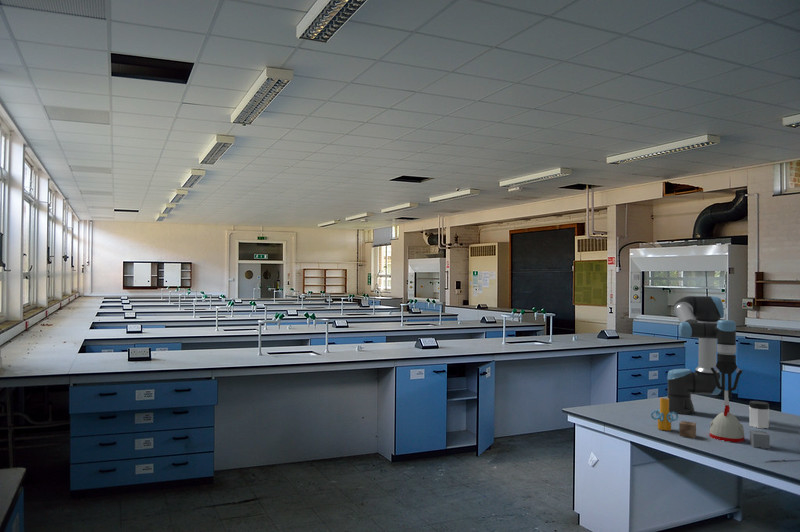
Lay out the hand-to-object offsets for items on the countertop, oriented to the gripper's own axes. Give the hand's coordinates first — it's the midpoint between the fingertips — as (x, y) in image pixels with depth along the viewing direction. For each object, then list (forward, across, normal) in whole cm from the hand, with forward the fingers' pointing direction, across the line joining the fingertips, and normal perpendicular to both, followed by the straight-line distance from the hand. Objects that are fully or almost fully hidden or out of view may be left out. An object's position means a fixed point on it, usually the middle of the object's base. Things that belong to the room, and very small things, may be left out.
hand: (726, 404), depth 253 cm
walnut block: (+15, -15, -8) cm, 23 cm away
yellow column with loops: (+15, -26, -2) cm, 30 cm away
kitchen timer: (+15, 0, 0) cm, 15 cm away
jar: (+15, +11, +35) cm, 40 cm away
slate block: (+15, +13, -6) cm, 21 cm away
